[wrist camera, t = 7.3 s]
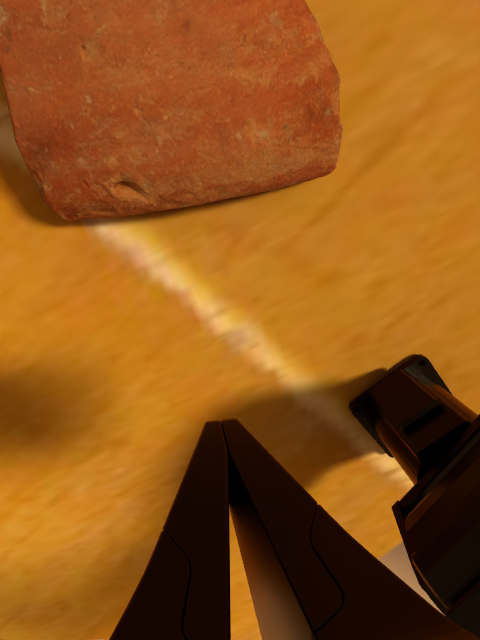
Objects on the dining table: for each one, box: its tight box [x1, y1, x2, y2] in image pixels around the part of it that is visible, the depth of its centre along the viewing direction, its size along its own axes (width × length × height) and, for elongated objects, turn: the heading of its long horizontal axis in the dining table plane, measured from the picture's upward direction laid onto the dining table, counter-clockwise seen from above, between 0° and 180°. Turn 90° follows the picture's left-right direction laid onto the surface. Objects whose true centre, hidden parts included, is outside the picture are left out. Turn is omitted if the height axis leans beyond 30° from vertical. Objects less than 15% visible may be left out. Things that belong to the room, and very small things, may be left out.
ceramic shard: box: [0, 0, 342, 221], centre depth 14 cm, size 15×6×15 cm
